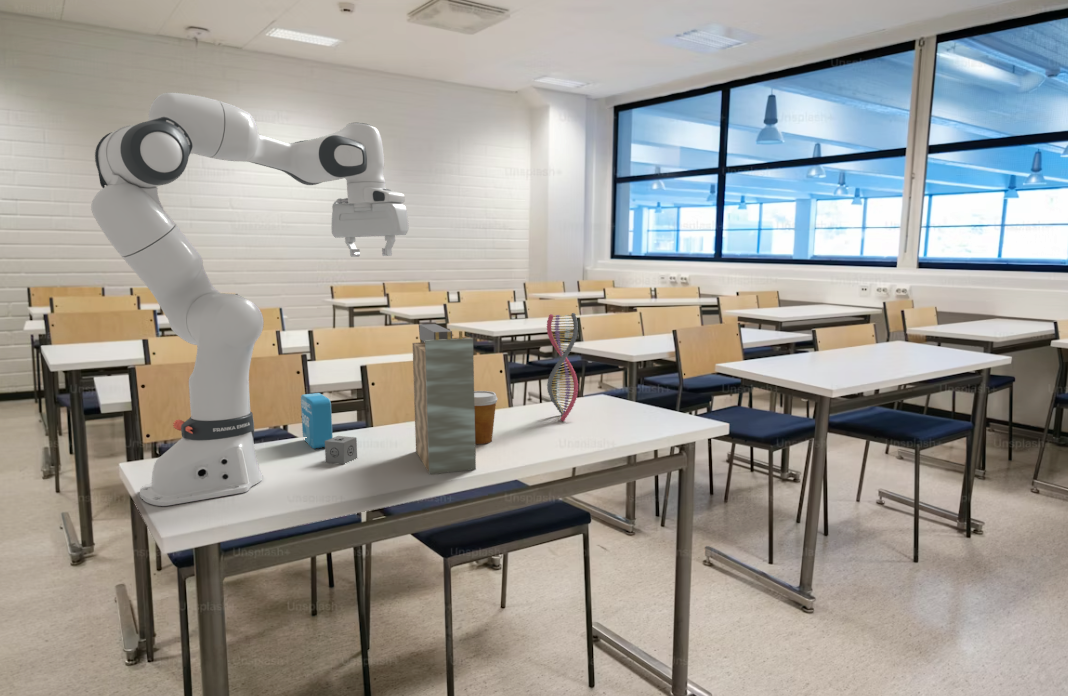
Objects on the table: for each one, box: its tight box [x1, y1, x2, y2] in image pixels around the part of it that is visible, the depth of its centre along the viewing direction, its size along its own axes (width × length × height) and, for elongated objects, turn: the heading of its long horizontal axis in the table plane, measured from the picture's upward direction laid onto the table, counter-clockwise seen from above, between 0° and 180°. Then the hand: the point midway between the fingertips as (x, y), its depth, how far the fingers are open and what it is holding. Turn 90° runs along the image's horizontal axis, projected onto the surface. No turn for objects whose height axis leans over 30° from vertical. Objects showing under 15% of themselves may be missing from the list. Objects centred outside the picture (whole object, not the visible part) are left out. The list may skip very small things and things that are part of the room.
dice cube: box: [324, 435, 358, 465], centre depth 159 cm, size 5×5×5 cm
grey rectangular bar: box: [419, 323, 453, 342], centre depth 162 cm, size 20×4×4 cm, turn 18°
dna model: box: [546, 312, 579, 422], centre depth 198 cm, size 9×9×30 cm
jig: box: [412, 330, 477, 475], centre depth 157 cm, size 19×10×30 cm, turn 18°
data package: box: [300, 392, 334, 450], centre depth 173 cm, size 12×4×12 cm, turn 31°
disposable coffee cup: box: [474, 390, 499, 445], centre depth 174 cm, size 10×10×12 cm
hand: (370, 256), depth 164 cm, fingers open, 8 cm apart
